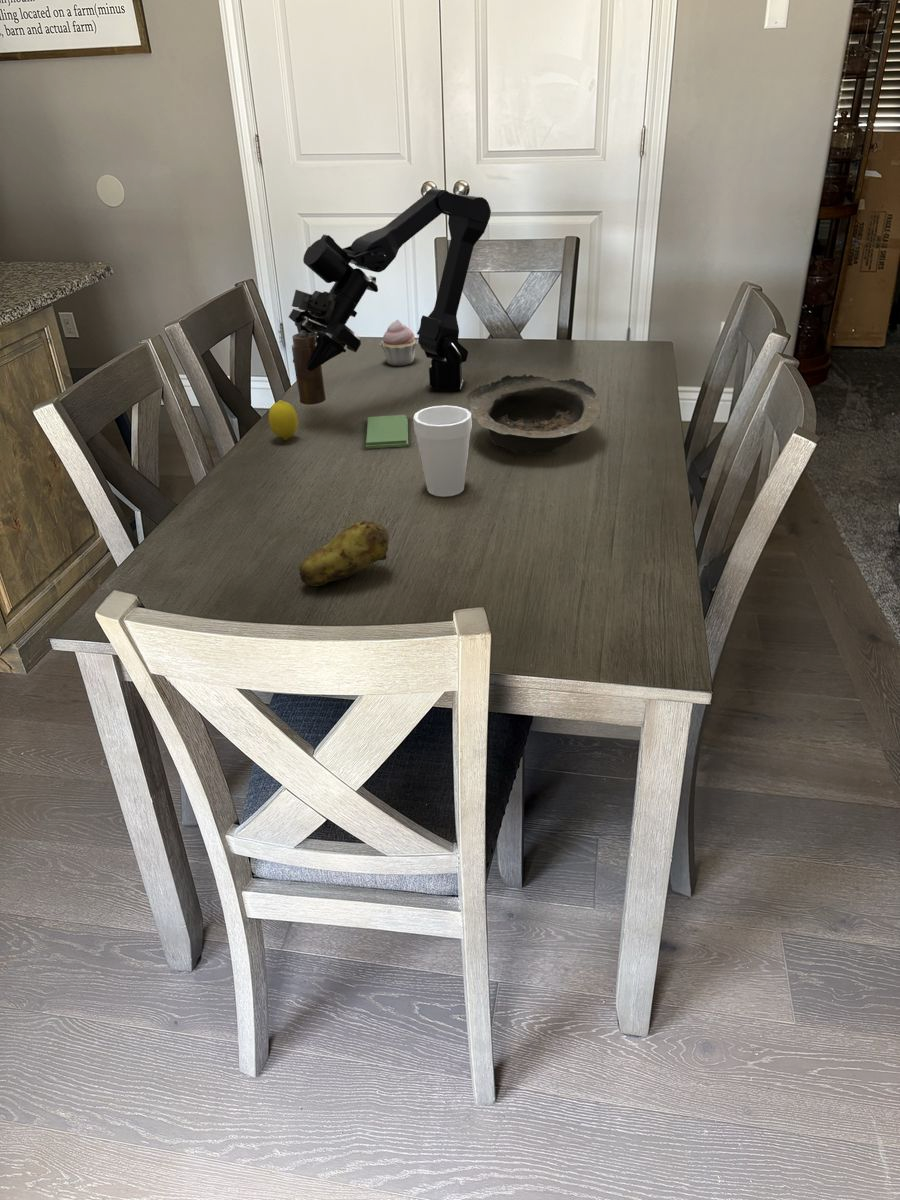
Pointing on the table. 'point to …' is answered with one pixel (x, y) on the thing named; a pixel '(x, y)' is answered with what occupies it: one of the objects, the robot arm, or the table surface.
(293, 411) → the lemon
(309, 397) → the pepper mill
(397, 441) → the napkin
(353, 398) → the table surface
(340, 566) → the potato
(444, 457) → the foam cup
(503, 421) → the stone bowl
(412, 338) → the cupcake
